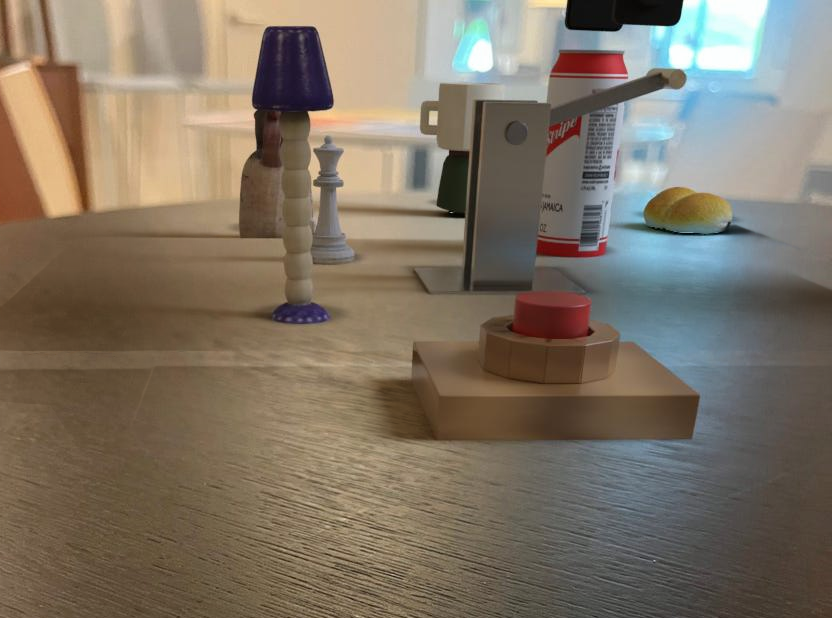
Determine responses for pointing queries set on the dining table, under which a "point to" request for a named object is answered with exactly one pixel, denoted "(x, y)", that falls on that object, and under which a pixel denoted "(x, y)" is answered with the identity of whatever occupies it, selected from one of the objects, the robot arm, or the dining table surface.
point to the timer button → (551, 315)
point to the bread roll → (688, 211)
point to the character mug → (455, 135)
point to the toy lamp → (294, 150)
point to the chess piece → (329, 210)
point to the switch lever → (619, 94)
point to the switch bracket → (502, 205)
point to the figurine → (264, 183)
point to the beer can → (581, 157)
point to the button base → (549, 388)
